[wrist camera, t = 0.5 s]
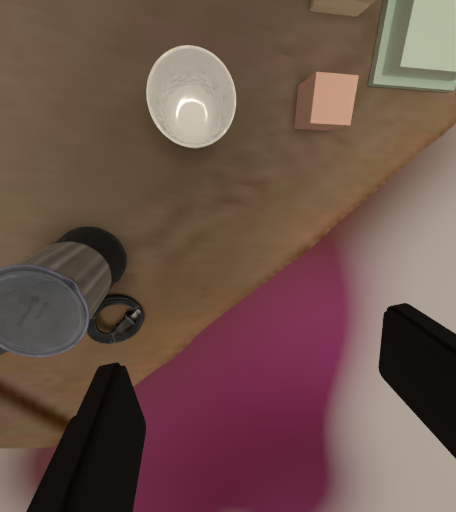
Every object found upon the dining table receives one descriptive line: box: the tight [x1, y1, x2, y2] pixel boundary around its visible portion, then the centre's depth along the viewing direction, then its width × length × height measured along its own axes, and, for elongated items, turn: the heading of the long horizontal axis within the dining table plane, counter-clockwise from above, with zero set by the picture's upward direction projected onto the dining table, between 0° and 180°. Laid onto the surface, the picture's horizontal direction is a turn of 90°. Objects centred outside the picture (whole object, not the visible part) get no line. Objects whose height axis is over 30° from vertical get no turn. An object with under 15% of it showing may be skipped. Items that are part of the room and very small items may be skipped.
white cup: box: [146, 45, 236, 149], centre depth 27 cm, size 8×8×10 cm
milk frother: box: [0, 227, 144, 357], centre depth 30 cm, size 14×16×15 cm
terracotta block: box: [294, 72, 359, 131], centre depth 31 cm, size 5×5×5 cm
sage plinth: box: [368, 0, 456, 93], centre depth 30 cm, size 12×12×4 cm
